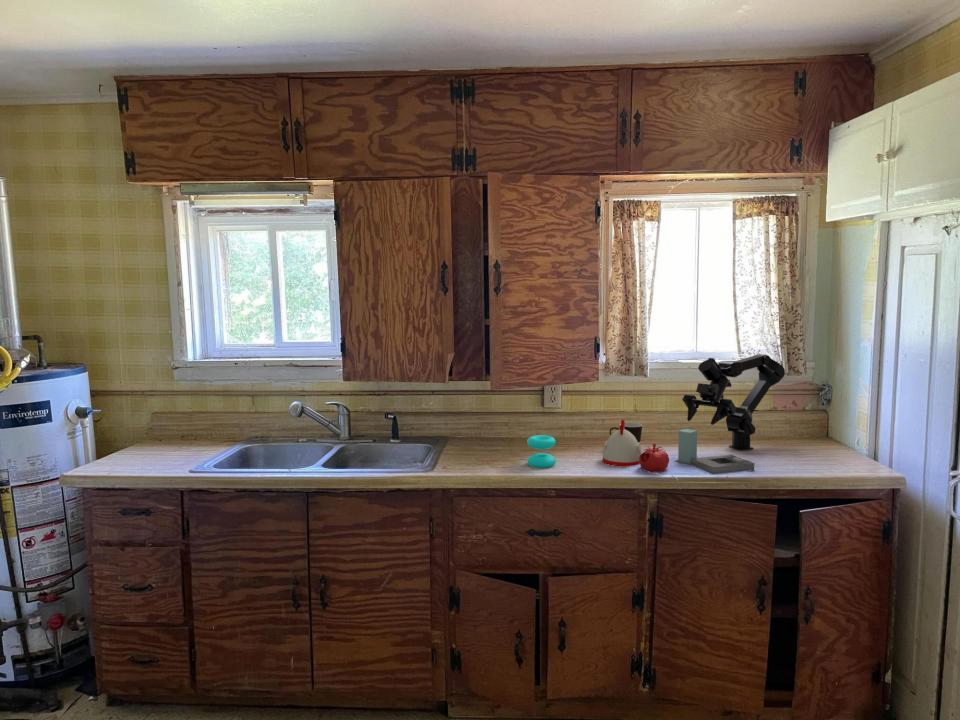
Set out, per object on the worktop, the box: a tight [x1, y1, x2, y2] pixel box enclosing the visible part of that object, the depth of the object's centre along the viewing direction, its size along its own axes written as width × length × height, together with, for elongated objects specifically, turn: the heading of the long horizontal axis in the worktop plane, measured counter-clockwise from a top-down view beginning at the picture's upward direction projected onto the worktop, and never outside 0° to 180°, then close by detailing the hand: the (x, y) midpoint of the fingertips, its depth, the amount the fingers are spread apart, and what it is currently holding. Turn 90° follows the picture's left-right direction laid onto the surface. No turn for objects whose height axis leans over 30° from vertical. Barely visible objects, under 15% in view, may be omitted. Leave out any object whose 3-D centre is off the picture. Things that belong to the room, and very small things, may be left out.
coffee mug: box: [609, 422, 643, 443], centre depth 240 cm, size 12×9×10 cm
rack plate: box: [691, 454, 755, 475], centre depth 213 cm, size 12×16×3 cm
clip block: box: [677, 428, 698, 464], centre depth 220 cm, size 4×4×11 cm
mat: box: [673, 459, 693, 466], centre depth 221 cm, size 7×7×1 cm
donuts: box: [526, 434, 557, 469], centre depth 220 cm, size 10×10×10 cm
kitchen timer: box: [602, 419, 643, 467], centre depth 223 cm, size 14×14×15 cm
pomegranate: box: [639, 443, 670, 473], centre depth 212 cm, size 10×10×9 cm
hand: (699, 422), depth 224 cm, fingers open, 9 cm apart
